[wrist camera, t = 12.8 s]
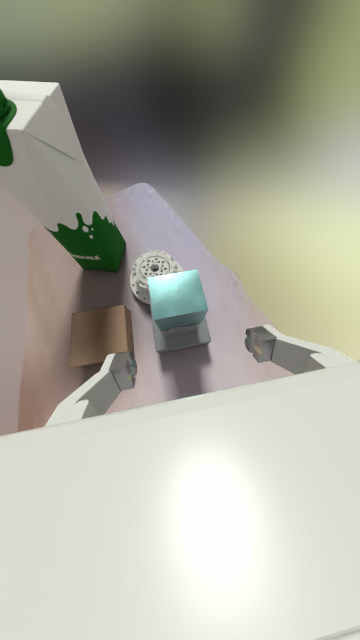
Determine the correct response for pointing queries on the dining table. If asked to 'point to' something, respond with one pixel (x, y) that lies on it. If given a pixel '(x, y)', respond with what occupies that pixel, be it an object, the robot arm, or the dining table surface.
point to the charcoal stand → (180, 338)
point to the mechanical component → (151, 272)
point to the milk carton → (54, 173)
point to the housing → (177, 302)
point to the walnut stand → (100, 335)
